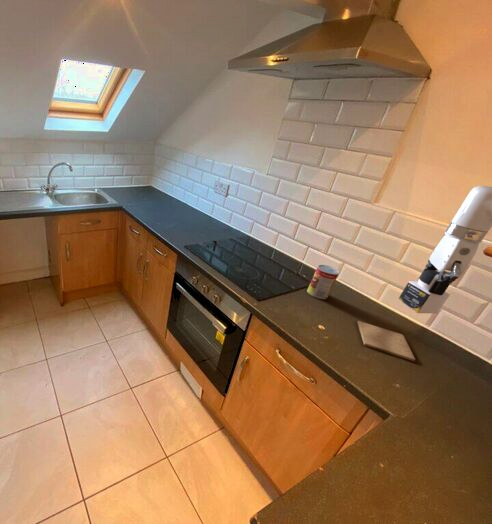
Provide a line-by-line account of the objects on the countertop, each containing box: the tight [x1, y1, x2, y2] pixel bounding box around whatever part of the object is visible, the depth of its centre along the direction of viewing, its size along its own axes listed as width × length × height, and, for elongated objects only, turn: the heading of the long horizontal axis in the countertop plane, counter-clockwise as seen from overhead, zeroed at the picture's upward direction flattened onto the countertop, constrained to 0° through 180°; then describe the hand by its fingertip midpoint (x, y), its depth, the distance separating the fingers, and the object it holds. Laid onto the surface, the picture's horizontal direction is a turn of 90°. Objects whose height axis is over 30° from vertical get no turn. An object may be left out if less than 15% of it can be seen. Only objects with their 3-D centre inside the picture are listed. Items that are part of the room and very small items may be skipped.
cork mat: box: [357, 320, 416, 362], centre depth 103 cm, size 14×14×1 cm
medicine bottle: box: [397, 270, 451, 314], centre depth 90 cm, size 7×7×12 cm
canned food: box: [306, 264, 340, 300], centre depth 125 cm, size 8×8×12 cm
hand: (429, 286), depth 90 cm, fingers closed on medicine bottle, 7 cm apart
